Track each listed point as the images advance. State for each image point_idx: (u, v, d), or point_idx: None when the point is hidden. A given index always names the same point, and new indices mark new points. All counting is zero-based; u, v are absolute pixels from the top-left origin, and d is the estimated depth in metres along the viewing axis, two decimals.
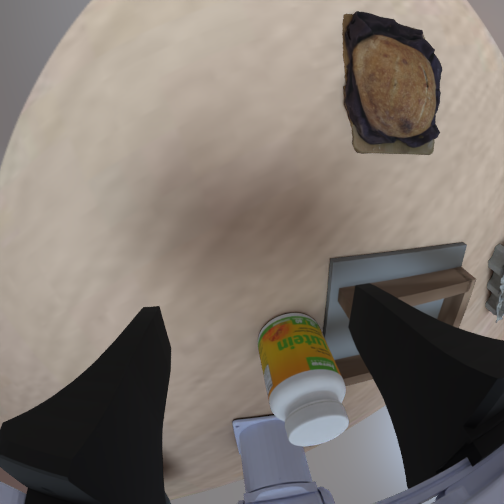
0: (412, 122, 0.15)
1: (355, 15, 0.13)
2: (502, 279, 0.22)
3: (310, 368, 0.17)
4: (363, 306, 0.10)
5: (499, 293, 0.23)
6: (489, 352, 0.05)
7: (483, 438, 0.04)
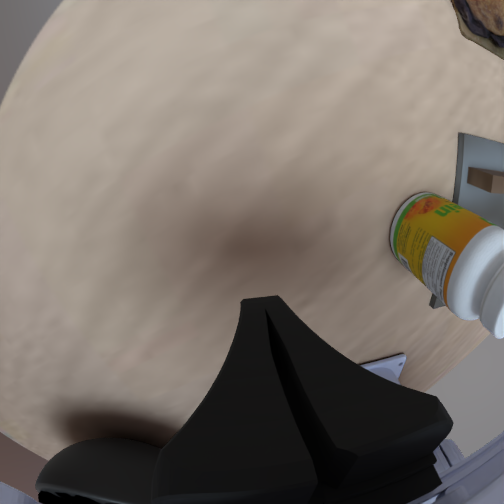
0: (503, 20, 0.09)
1: None
2: None
3: (491, 224, 0.11)
4: None
5: None
6: (365, 401, 0.04)
7: (351, 502, 0.04)
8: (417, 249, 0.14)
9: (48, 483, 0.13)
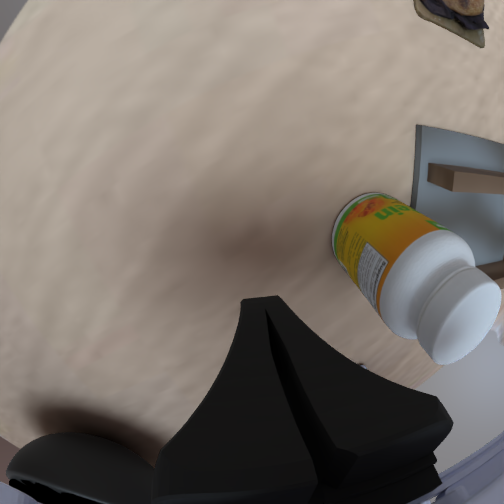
0: None
1: None
2: None
3: (439, 228, 0.10)
4: None
5: None
6: (365, 401, 0.04)
7: (351, 502, 0.04)
8: (353, 257, 0.14)
9: (14, 470, 0.12)
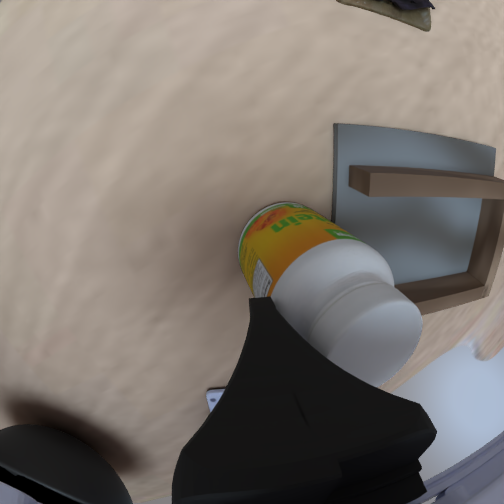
0: None
1: None
2: None
3: (337, 237, 0.10)
4: None
5: None
6: (344, 407, 0.04)
7: None
8: (249, 274, 0.13)
9: None
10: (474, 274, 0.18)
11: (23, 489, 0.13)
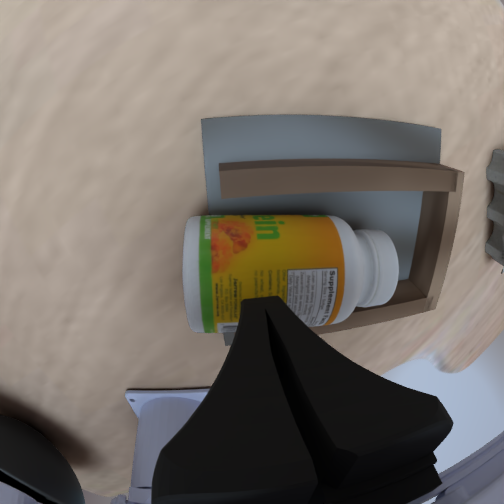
0: None
1: None
2: None
3: (325, 216, 0.13)
4: None
5: None
6: (365, 401, 0.04)
7: (351, 502, 0.04)
8: None
9: None
10: (416, 283, 0.18)
11: None
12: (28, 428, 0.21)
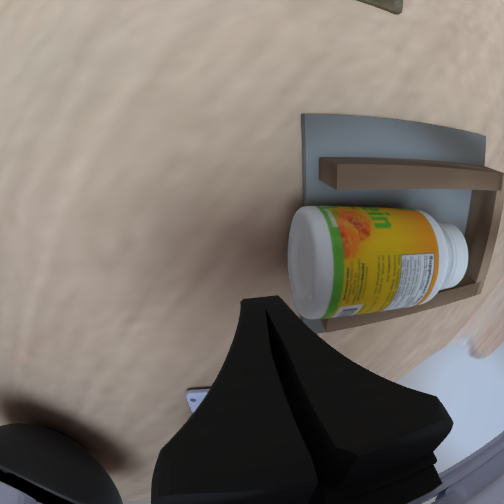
0: None
1: None
2: None
3: (414, 210, 0.13)
4: None
5: None
6: (365, 401, 0.04)
7: (351, 502, 0.04)
8: (387, 281, 0.12)
9: None
10: None
11: (14, 486, 0.12)
12: (62, 437, 0.22)
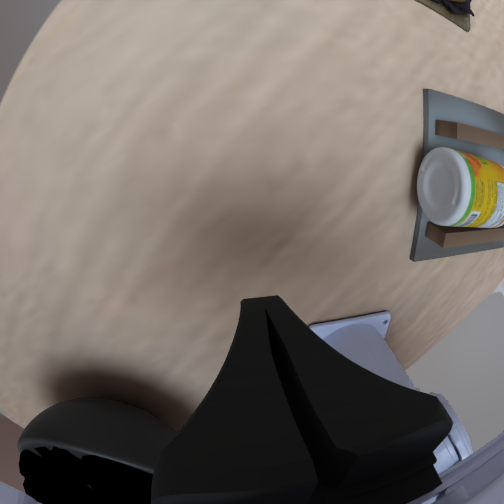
0: None
1: None
2: None
3: (491, 161, 0.16)
4: None
5: None
6: (365, 401, 0.04)
7: (350, 502, 0.04)
8: (492, 196, 0.14)
9: (28, 436, 0.14)
10: None
11: (85, 475, 0.15)
12: (139, 408, 0.24)
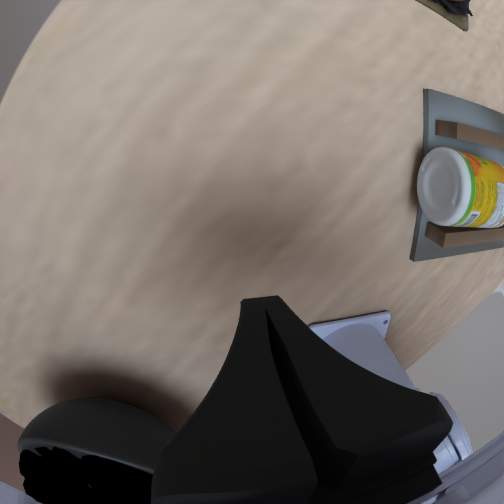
0: None
1: None
2: None
3: (491, 161, 0.16)
4: None
5: None
6: (365, 401, 0.04)
7: (350, 502, 0.04)
8: (492, 196, 0.14)
9: (28, 436, 0.14)
10: None
11: (85, 475, 0.15)
12: (139, 408, 0.24)
